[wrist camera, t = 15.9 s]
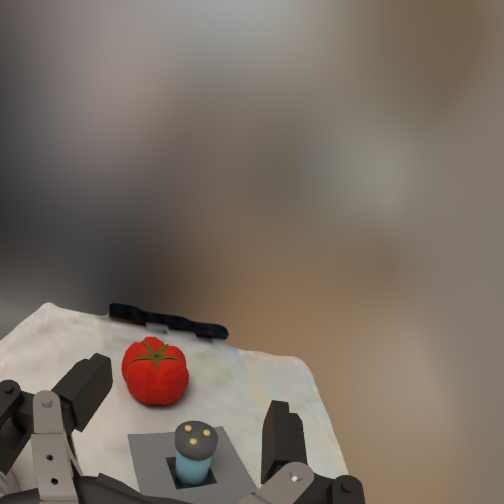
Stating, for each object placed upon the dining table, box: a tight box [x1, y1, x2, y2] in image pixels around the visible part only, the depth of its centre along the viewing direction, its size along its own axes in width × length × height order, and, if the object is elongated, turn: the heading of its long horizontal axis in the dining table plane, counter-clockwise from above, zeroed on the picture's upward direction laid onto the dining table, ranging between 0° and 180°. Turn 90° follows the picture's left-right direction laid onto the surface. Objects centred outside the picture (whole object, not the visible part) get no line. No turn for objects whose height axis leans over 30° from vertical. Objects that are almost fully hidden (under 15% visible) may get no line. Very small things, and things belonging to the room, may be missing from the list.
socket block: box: [128, 426, 258, 504], centre depth 30 cm, size 16×16×4 cm
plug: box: [175, 421, 218, 489], centre depth 29 cm, size 5×5×14 cm
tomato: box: [122, 337, 189, 405], centre depth 47 cm, size 14×13×10 cm
